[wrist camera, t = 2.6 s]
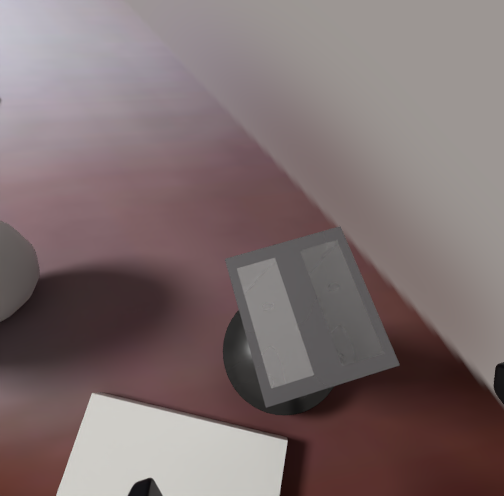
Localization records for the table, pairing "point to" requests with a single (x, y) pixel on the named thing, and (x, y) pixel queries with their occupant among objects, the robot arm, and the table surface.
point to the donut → (15, 270)
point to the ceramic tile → (169, 453)
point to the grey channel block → (301, 324)
